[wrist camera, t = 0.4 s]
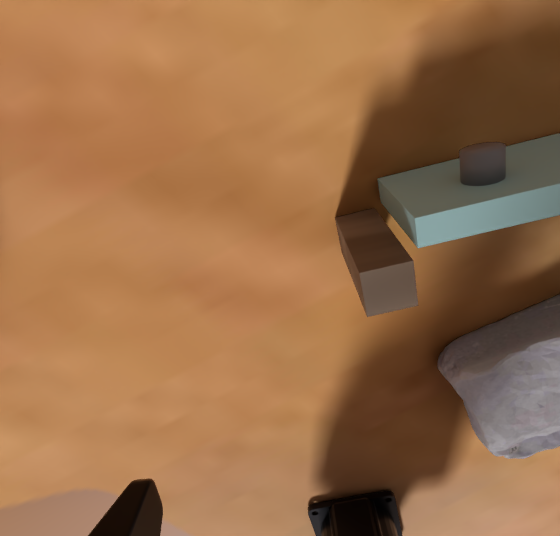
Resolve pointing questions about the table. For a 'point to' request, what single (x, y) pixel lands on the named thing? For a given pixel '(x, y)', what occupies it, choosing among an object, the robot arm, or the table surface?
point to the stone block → (511, 380)
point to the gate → (476, 191)
